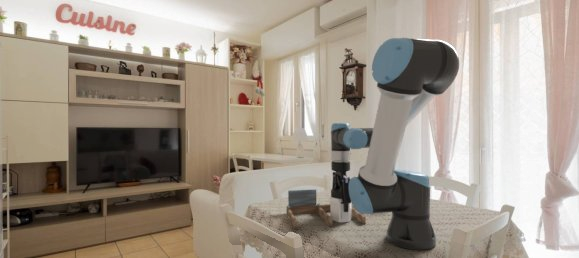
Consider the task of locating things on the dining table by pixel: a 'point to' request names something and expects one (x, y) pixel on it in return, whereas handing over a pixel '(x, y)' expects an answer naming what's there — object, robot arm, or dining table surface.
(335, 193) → the jar
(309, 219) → the dining table surface
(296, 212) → the wooden divider rails
